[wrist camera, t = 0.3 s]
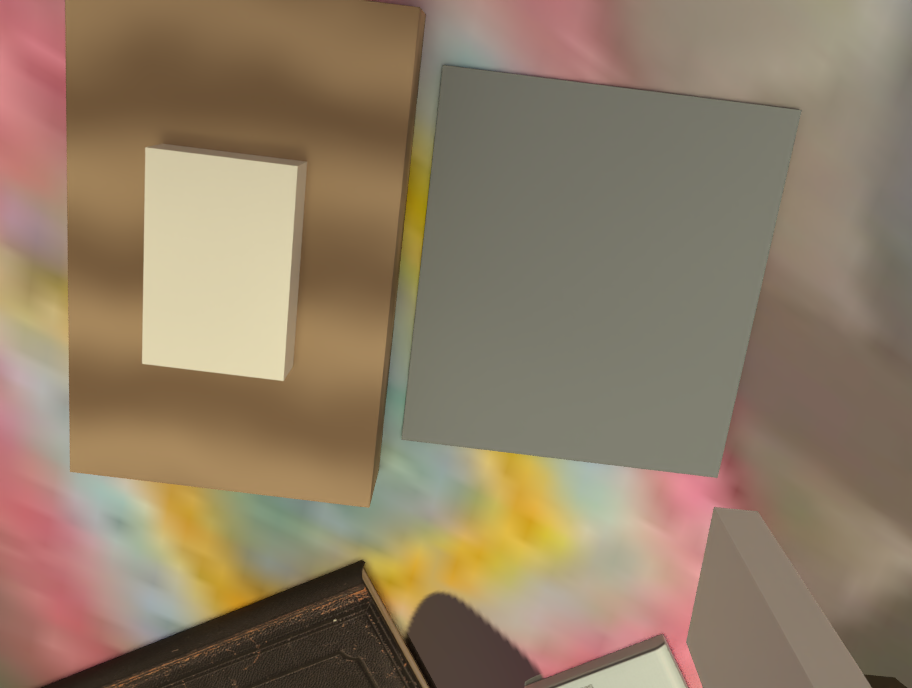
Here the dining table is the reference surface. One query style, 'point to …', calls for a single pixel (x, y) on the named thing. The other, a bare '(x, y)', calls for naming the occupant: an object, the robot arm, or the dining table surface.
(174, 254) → the cream rectangular block
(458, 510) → the dining table surface
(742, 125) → the mat
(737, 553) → the robot arm
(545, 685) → the hard drive
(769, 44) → the dining table surface
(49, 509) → the dining table surface
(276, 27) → the brown wooden block
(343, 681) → the hardcover book
